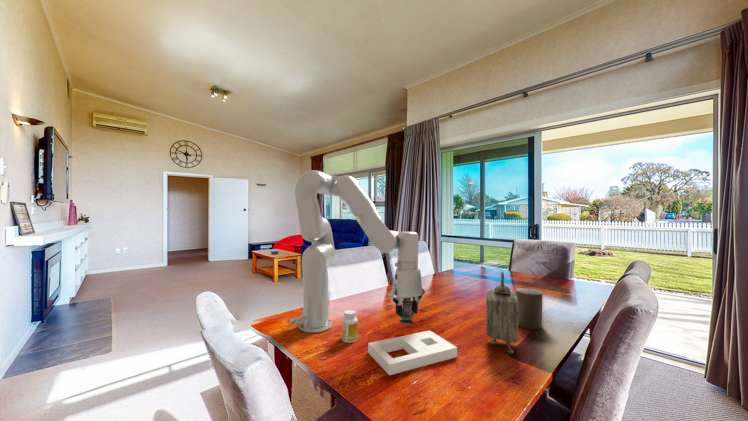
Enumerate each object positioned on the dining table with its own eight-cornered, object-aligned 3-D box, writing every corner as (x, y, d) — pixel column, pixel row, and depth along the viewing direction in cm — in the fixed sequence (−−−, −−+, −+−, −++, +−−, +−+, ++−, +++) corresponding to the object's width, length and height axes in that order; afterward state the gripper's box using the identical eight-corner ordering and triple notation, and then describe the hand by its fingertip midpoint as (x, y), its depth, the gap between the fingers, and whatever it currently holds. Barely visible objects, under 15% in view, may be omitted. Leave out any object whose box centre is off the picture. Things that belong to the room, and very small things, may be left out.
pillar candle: (536, 332, 110) (537, 292, 110) (510, 324, 118) (511, 286, 118) (545, 325, 117) (546, 288, 117) (520, 318, 124) (521, 283, 124)
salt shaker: (414, 325, 104) (414, 292, 104) (397, 324, 105) (398, 291, 105) (415, 319, 110) (415, 287, 110) (399, 318, 111) (400, 286, 111)
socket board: (389, 375, 80) (389, 364, 80) (368, 352, 93) (368, 343, 93) (456, 357, 91) (457, 347, 91) (429, 338, 103) (429, 330, 103)
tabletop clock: (517, 358, 91) (518, 277, 91) (486, 352, 94) (487, 275, 94) (512, 338, 104) (513, 269, 104) (485, 334, 107) (486, 267, 107)
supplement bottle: (359, 337, 104) (360, 310, 103) (353, 344, 98) (354, 315, 98) (345, 335, 105) (346, 308, 105) (339, 341, 100) (339, 313, 100)
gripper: (392, 268, 100) (391, 321, 100) (433, 265, 108) (431, 314, 108) (382, 264, 107) (381, 313, 107) (421, 261, 114) (420, 307, 115)
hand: (406, 313), depth 107 cm, fingers closed on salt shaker, 5 cm apart
